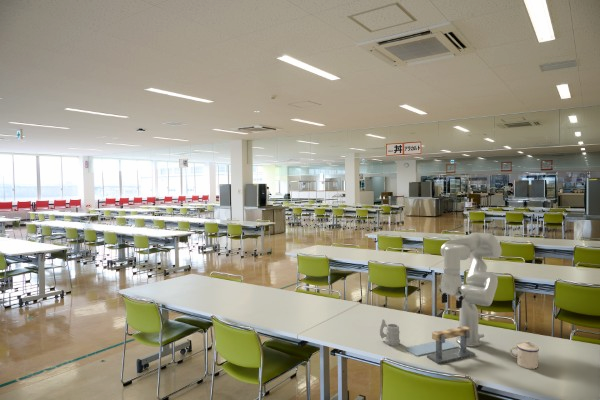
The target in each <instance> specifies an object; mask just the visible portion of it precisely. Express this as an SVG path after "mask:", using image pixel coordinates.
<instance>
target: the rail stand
mask: <svg viewBox="0 0 600 400" xmlns="http://www.w3.org/2000/svg"><path fill="white" fill-rule="evenodd" d="M457 328H459V326H458V327H457ZM434 332H438V331H435V330H434ZM467 338H470V331H469V330H465V335H463V336H461V337H460V344H459V345H460V346H459V348H454V349H449V350H445V351H442V343H445V340H446V339H445V335H440V340H438V341H436V340H435V341H436V352H435V353H431V354H426V358H427V359H428V360H430V361H432V362H433V363H435V364H437V365H442V364H446V363H451V362H454V361H458V360H462V359H467V358H473V357H476V353H475V352H473V351H472V350H469V349H467V346H466V339H467Z"/></svg>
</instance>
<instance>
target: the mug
mask: <svg viewBox="0 0 600 400" xmlns="http://www.w3.org/2000/svg"><path fill="white" fill-rule="evenodd" d="M385 327H386V329H385ZM384 329H385V330H386V331H385V332H386V333H384ZM400 332H401V331H400V326H399V325H398V324H395V323H387V324H386V320H385V319H384V318H383V319H382V320H381V324H380V327H379V336H380V337H381V339H382V340H383V339H384V338H385V343H386V345H387V346H392V347H398V346H399V345H400V342H401V339H400V334H401V333H400Z"/></svg>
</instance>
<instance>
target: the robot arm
mask: <svg viewBox="0 0 600 400" xmlns="http://www.w3.org/2000/svg"><path fill="white" fill-rule="evenodd" d="M502 252H503V250H502V247H501V244H500V242H499V240H498V239H497V237H496V236H495V235H494V234H492V233H490V232H476V231H475V232H471V233H470V234H468V235H466V236H465V237H461V238H455V239H450V240H447V241H446V242H444V243H443V244H442V245H441V247H440V255H441V256H442V257H443V272H442V275H441V282H440V284H438V289H439V292H440V295H441V303H442V304H446V303H448V295H449V296H452V297H455V299H456V300H455V309H459V311H458V312H459V315H458V316H459V318H458V319H459V321H458V323H459V325H458V327H465V326H466V327H469V328H470V338H467V339H466V347H470V348H471V347H473V348H475V347H480V346H482V341H481V340H480V339H482V338H484V337H485V334H484V333H479V311H478V307H477V306H476V305H478V306H482V307H490V306H491V305H492V303H493V300H494V297H495V294H496V291H497V288H498V283H499V282H498V281H499V279H498V276H497V274H496V273H494V272H491V271H487V270H488V266H487V263H486V262H485V261H484V260H483V259H482V258H489V259H499V258H500V257H501V256H502ZM469 259H470V267H469V269H468V272H467V274H466V277H465V283H466V284H463V282H462V276H461V261H465V260H466V261H467V260H469ZM460 337H461V336H458V337H455V340H456V342H457V343H458V344H459V345H460Z"/></svg>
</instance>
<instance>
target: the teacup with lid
mask: <svg viewBox="0 0 600 400" xmlns="http://www.w3.org/2000/svg"><path fill="white" fill-rule="evenodd" d="M513 350H517V351H516V355H515V354H514V353H513ZM539 350H540V349H539V347H538V346H537V345H535V344H533V343H531V341H530V340H525V342H524V341H523V342H519V343H517V344H516V346H511V348H510V349H509V353H510V355H511V356H512V357H513V358H516V359H517V360H516V363H517V365H518V366H520V367H522V368H525V369H529V370H535V368H536V369H538V368H537V367H539Z"/></svg>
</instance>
